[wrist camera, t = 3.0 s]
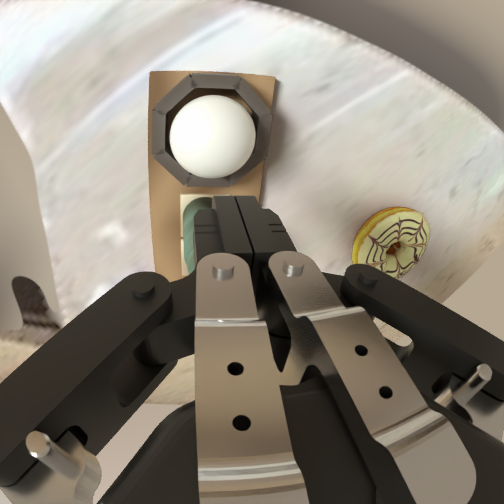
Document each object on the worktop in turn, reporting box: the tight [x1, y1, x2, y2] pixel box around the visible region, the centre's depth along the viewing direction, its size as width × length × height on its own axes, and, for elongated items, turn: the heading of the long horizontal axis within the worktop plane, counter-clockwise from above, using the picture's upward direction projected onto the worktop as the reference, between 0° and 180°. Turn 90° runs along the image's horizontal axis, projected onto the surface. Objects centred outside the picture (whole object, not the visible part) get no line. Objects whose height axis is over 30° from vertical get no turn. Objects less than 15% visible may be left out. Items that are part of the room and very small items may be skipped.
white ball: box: [170, 95, 256, 179], centre depth 21 cm, size 6×6×6 cm
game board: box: [148, 71, 276, 282], centre depth 27 cm, size 10×25×4 cm, turn 173°
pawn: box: [183, 197, 213, 274], centre depth 25 cm, size 4×4×9 cm
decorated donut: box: [352, 207, 430, 280], centre depth 35 cm, size 10×11×4 cm
